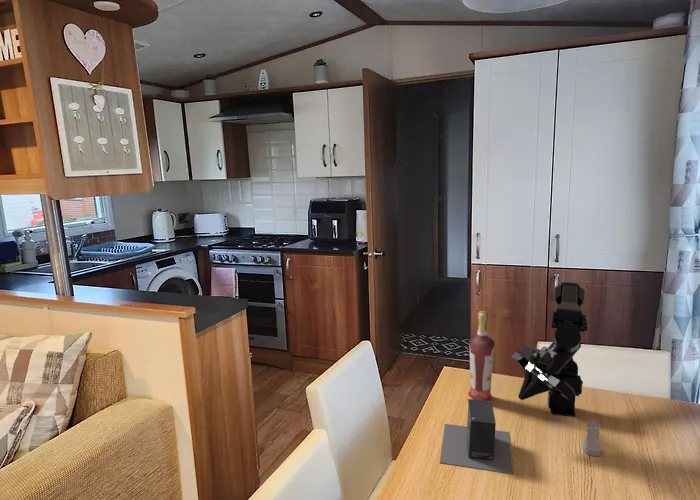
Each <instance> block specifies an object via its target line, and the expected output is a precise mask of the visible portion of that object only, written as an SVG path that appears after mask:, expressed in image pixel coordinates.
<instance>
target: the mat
mask: <svg viewBox="0 0 700 500" xmlns="http://www.w3.org/2000/svg"><path fill="white" fill-rule="evenodd" d="M510 438H511V437H510V432H509V431H503V430H497V429H495V446H494V460H485V459H477V458H469V457H468V448H467V425H466V426H464V425H459V424H458V425H457V424H449V423H444V427H443V436H442V443H441V451H440V456H439V457H440V458H439V464H444V465H449V466H450V465H452V466H458V467H464V468H468V469H469V468H470V469H478V470H483V471H488V472H489V471H490V472H495V473H496V472H498V473H501V474H502V473H503V474H509V475H514V470H513V469H514V468H513V459H512V450H511V440H510Z"/></svg>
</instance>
